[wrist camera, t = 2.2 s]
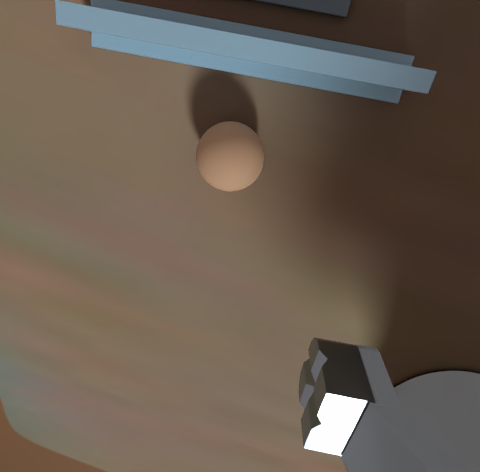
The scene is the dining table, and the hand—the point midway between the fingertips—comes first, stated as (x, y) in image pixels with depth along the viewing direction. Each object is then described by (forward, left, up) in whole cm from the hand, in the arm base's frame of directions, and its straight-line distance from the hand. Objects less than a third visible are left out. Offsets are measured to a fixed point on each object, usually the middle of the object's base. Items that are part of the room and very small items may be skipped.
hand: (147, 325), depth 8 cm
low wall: (+7, 0, -21) cm, 22 cm away
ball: (0, 0, -18) cm, 18 cm away
